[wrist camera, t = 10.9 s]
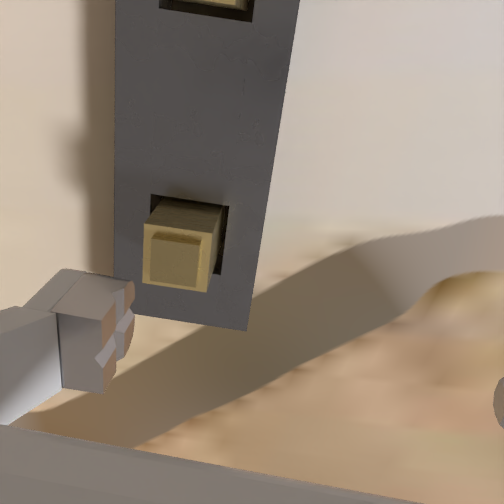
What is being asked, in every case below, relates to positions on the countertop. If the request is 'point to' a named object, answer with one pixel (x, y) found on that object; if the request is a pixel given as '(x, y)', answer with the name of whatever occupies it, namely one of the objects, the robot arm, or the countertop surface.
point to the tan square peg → (223, 3)
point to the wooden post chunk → (182, 243)
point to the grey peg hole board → (197, 140)
